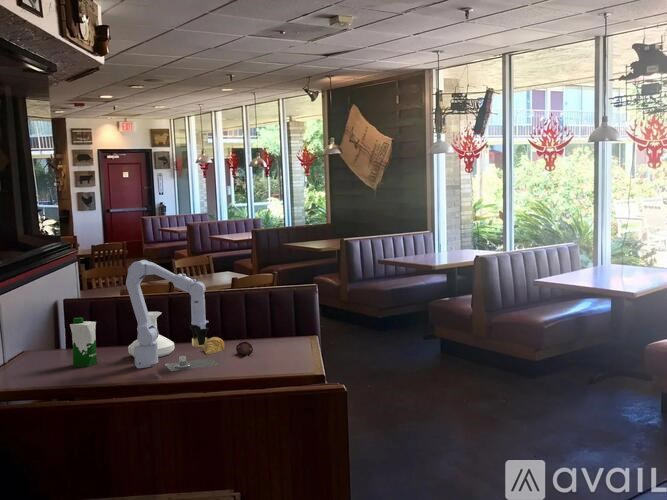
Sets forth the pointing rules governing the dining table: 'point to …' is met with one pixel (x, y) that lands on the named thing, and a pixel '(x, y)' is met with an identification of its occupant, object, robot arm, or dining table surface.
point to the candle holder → (162, 342)
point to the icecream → (244, 348)
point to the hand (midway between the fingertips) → (199, 343)
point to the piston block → (190, 364)
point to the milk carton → (83, 342)
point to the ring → (195, 342)
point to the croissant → (213, 345)
